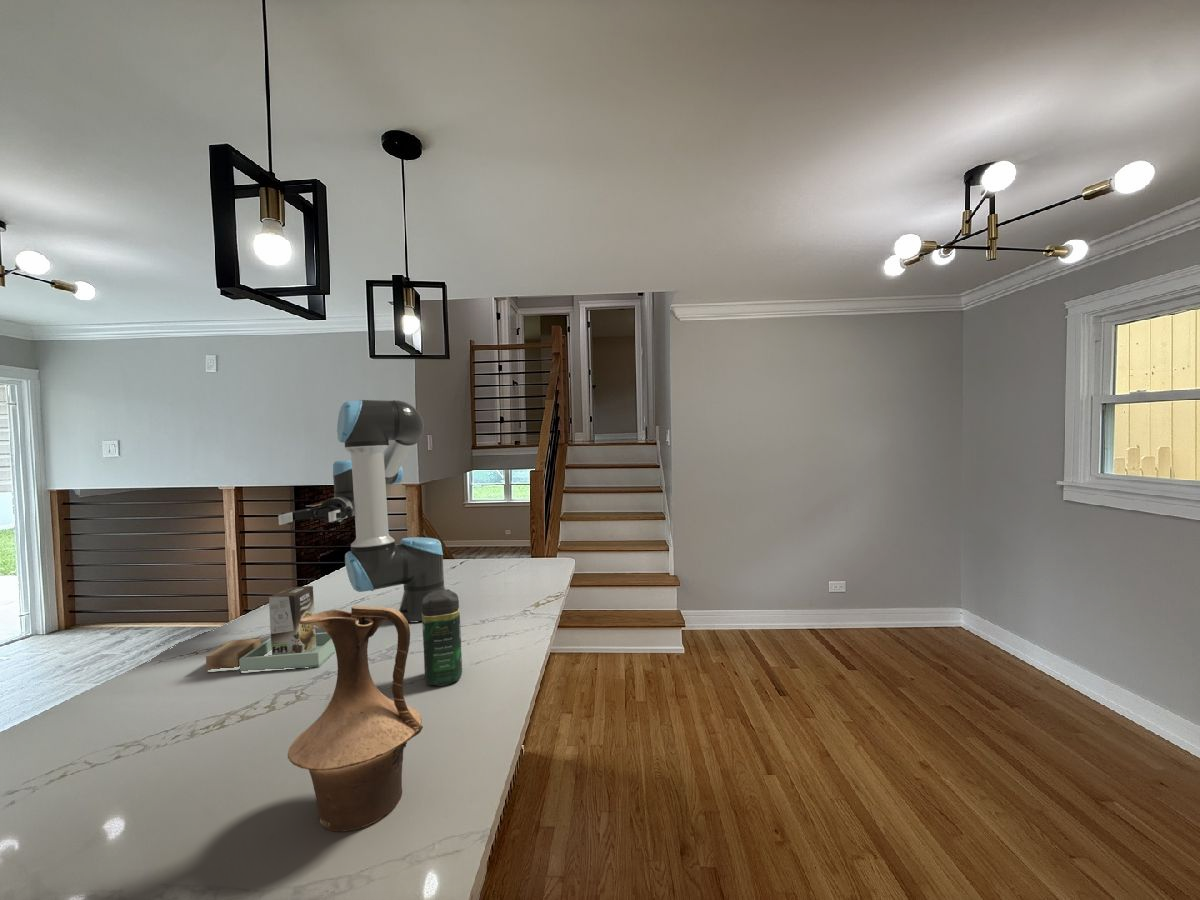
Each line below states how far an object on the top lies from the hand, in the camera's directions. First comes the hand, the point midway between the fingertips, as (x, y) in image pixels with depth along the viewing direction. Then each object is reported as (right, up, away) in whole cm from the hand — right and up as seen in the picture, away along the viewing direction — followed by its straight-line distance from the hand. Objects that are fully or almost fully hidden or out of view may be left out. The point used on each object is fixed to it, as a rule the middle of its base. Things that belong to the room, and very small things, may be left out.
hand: (305, 518), depth 152 cm
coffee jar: (+50, -30, -35) cm, 68 cm away
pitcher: (+50, -31, -77) cm, 97 cm away
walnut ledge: (-6, -33, -21) cm, 39 cm away
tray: (+8, -32, -20) cm, 38 cm away
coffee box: (+9, -31, -20) cm, 38 cm away
